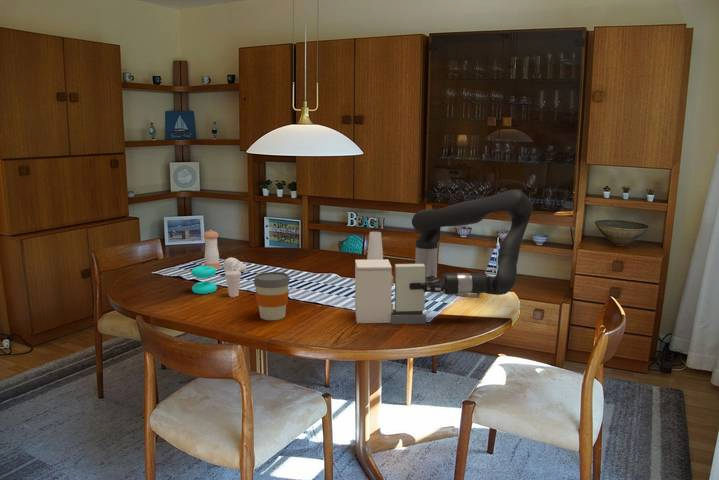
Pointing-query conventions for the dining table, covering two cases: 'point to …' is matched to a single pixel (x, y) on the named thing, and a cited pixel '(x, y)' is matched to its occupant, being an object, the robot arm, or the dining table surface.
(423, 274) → the door panel
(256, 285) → the reusable coffee cup
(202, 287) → the donuts
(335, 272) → the dining table surface
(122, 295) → the dining table surface
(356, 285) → the hinge cabinet
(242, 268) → the white lumpy piece
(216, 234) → the salt shaker
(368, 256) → the champagne flute
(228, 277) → the smoothie
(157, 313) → the dining table surface
